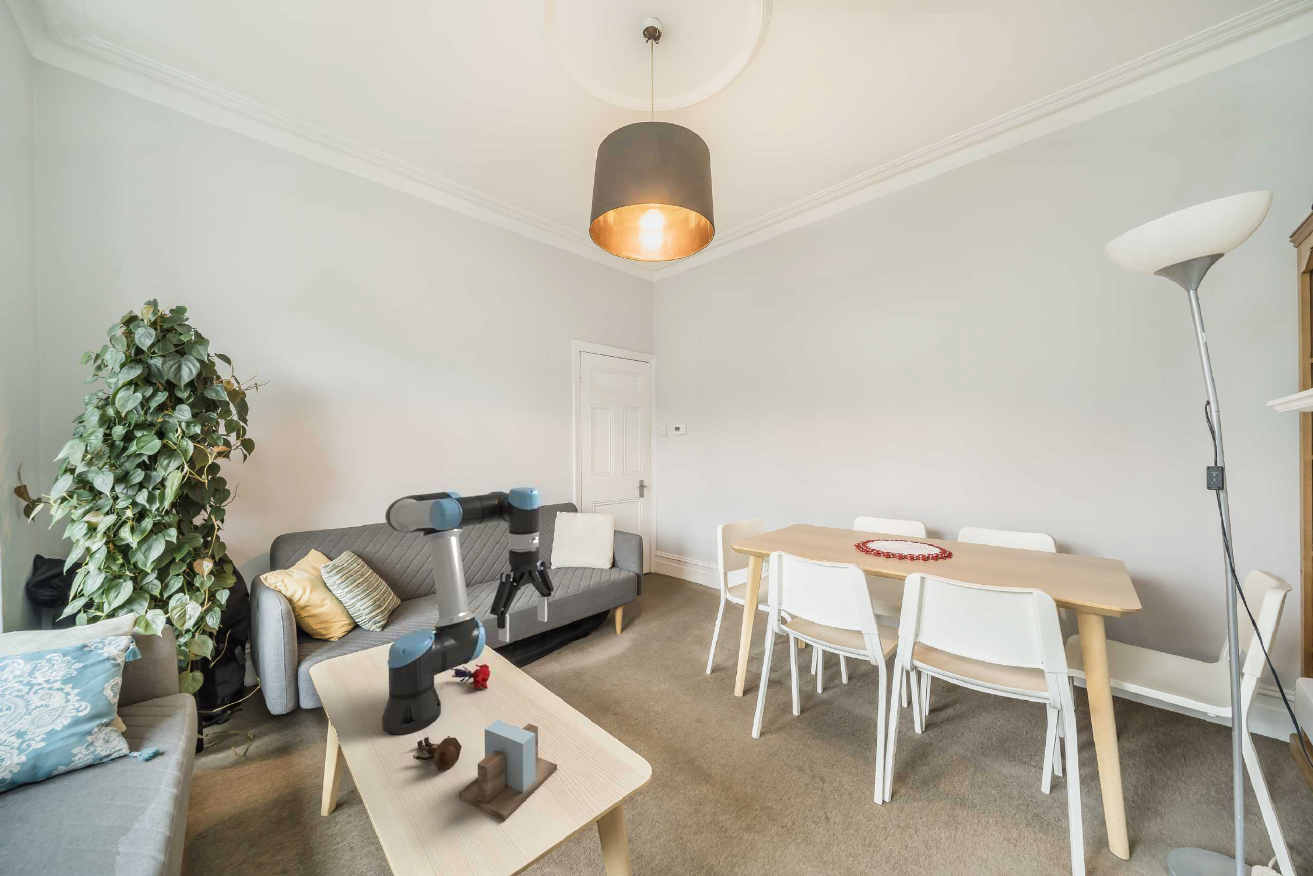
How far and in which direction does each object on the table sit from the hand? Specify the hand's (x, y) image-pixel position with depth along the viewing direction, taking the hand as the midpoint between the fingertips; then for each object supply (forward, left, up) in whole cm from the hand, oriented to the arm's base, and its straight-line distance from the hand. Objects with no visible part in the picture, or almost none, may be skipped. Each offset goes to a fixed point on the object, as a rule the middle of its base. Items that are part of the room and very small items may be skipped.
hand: (524, 630), depth 120 cm
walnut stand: (+5, -10, -31) cm, 33 cm away
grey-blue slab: (+5, -10, -30) cm, 32 cm away
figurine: (-39, +16, -32) cm, 52 cm away
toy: (-18, -12, -32) cm, 38 cm away
